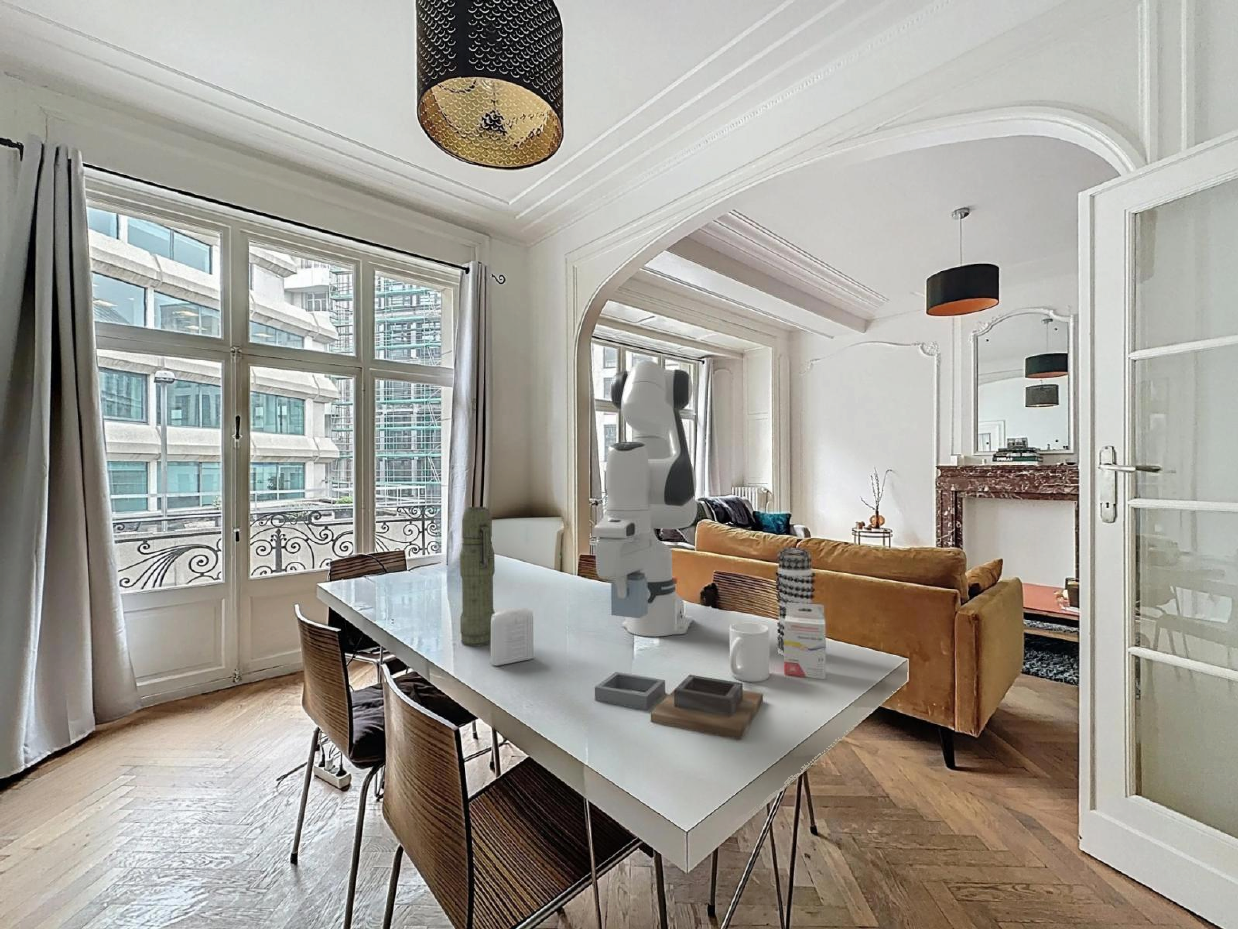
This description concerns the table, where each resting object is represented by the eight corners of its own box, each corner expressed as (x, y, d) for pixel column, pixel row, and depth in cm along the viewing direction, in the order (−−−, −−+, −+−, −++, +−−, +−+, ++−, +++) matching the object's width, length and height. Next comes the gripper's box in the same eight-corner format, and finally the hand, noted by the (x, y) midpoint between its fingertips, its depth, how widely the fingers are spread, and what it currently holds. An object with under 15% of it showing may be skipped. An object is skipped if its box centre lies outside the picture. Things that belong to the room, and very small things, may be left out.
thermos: (480, 632, 156) (479, 505, 157) (505, 641, 148) (503, 507, 148) (451, 639, 150) (449, 507, 150) (475, 649, 142) (474, 509, 142)
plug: (620, 610, 115) (620, 570, 115) (647, 613, 112) (647, 573, 112) (611, 615, 111) (611, 574, 111) (639, 618, 109) (638, 576, 109)
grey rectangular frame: (615, 684, 118) (615, 671, 118) (665, 692, 113) (664, 680, 113) (594, 700, 110) (594, 687, 110) (646, 710, 105) (646, 696, 105)
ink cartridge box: (783, 675, 122) (783, 606, 122) (785, 667, 126) (784, 601, 126) (826, 680, 119) (825, 609, 119) (826, 671, 124) (825, 604, 124)
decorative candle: (816, 661, 130) (815, 552, 130) (774, 657, 133) (773, 550, 133) (816, 649, 139) (815, 547, 139) (777, 645, 142) (775, 545, 142)
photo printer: (528, 654, 138) (528, 603, 138) (536, 659, 134) (535, 606, 134) (488, 662, 132) (487, 609, 132) (494, 668, 128) (494, 613, 128)
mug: (749, 691, 113) (748, 639, 113) (713, 681, 119) (712, 632, 119) (776, 674, 122) (775, 626, 122) (742, 666, 128) (741, 620, 128)
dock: (683, 687, 116) (683, 665, 116) (763, 701, 108) (762, 677, 108) (650, 721, 100) (650, 696, 100) (740, 739, 93) (739, 712, 93)
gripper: (636, 518, 122) (636, 582, 122) (589, 528, 104) (590, 604, 104) (663, 519, 120) (664, 585, 120) (619, 530, 101) (621, 607, 101)
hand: (629, 594), depth 112 cm, fingers closed on plug, 4 cm apart
